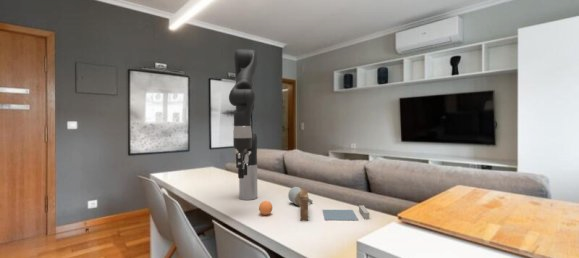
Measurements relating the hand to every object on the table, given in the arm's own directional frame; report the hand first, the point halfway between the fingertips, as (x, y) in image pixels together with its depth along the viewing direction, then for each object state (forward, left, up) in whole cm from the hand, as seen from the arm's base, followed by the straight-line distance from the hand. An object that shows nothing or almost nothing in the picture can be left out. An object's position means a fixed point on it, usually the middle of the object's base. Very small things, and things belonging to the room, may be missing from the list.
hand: (243, 176), depth 115 cm
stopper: (+29, +41, -16) cm, 52 cm away
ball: (+5, +8, -13) cm, 16 cm away
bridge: (+15, +21, -16) cm, 30 cm away
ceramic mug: (0, +29, -16) cm, 33 cm away
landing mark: (+23, +33, -16) cm, 43 cm away
